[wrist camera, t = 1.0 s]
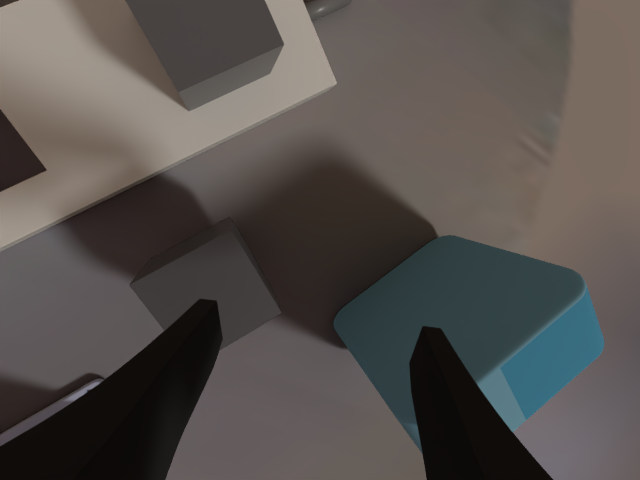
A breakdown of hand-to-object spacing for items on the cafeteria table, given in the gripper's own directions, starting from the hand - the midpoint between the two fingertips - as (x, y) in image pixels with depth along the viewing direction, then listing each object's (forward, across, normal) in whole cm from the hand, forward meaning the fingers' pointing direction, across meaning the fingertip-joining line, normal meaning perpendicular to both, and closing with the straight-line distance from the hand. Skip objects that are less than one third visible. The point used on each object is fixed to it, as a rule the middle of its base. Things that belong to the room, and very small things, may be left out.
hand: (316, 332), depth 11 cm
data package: (+13, -6, +9) cm, 17 cm away
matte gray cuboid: (+9, +8, +5) cm, 13 cm away
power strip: (+12, +12, -5) cm, 17 cm away
